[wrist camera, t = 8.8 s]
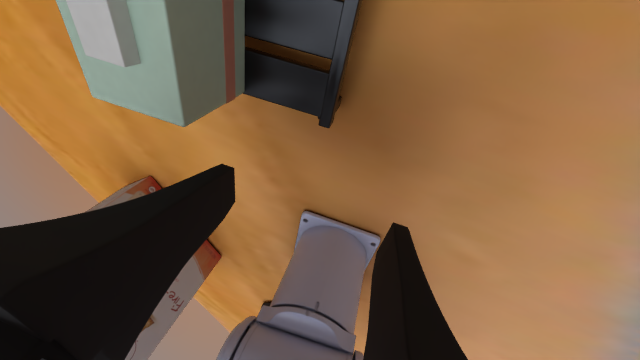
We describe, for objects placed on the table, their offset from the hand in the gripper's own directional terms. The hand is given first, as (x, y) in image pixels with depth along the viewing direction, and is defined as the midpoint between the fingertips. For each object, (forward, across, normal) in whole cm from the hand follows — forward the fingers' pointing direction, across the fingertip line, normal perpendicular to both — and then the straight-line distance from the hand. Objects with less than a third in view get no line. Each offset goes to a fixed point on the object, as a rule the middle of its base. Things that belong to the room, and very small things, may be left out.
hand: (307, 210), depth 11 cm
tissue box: (+6, +9, -6) cm, 12 cm away
